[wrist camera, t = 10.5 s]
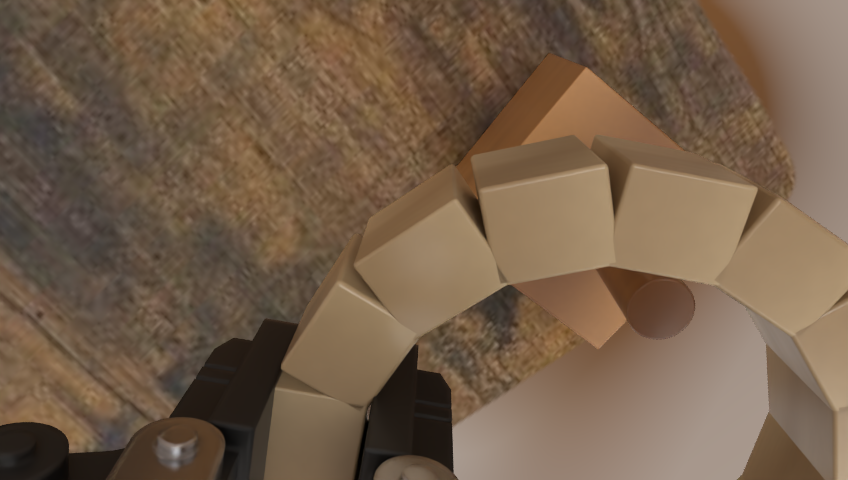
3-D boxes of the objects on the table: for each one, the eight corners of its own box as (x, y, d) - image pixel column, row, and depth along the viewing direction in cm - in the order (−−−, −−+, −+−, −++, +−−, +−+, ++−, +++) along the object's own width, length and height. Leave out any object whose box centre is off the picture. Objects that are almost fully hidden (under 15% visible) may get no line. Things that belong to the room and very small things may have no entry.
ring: (179, 343, 13) (125, 411, 11) (687, 6, 11) (753, 5, 9) (483, 683, 16) (491, 793, 14) (934, 474, 14) (1031, 565, 11)
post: (672, 156, 32) (882, 287, 17) (562, 275, 34) (662, 484, 19) (549, 52, 31) (660, 93, 15) (442, 183, 33) (448, 332, 18)
